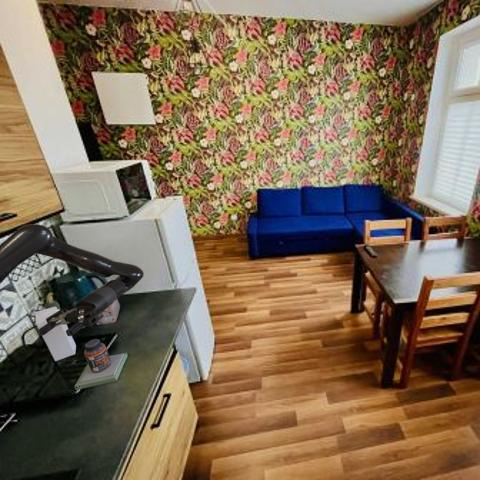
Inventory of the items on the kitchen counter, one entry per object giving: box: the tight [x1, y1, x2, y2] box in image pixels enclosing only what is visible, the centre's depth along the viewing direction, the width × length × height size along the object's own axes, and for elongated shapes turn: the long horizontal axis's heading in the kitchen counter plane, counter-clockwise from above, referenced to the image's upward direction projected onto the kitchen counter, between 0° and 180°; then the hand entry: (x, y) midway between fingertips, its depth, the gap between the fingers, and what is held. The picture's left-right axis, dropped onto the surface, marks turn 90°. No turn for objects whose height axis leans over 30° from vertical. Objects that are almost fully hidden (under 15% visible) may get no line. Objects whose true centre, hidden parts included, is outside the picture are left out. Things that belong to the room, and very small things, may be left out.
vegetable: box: [44, 292, 69, 328], centre depth 115 cm, size 4×4×20 cm
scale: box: [74, 352, 129, 391], centre depth 98 cm, size 12×12×3 cm
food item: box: [95, 298, 121, 326], centre depth 125 cm, size 14×8×10 cm, turn 28°
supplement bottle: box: [83, 338, 111, 373], centre depth 95 cm, size 6×6×11 cm
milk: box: [33, 307, 77, 362], centre depth 102 cm, size 6×6×22 cm
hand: (54, 333), depth 80 cm, fingers open, 8 cm apart
